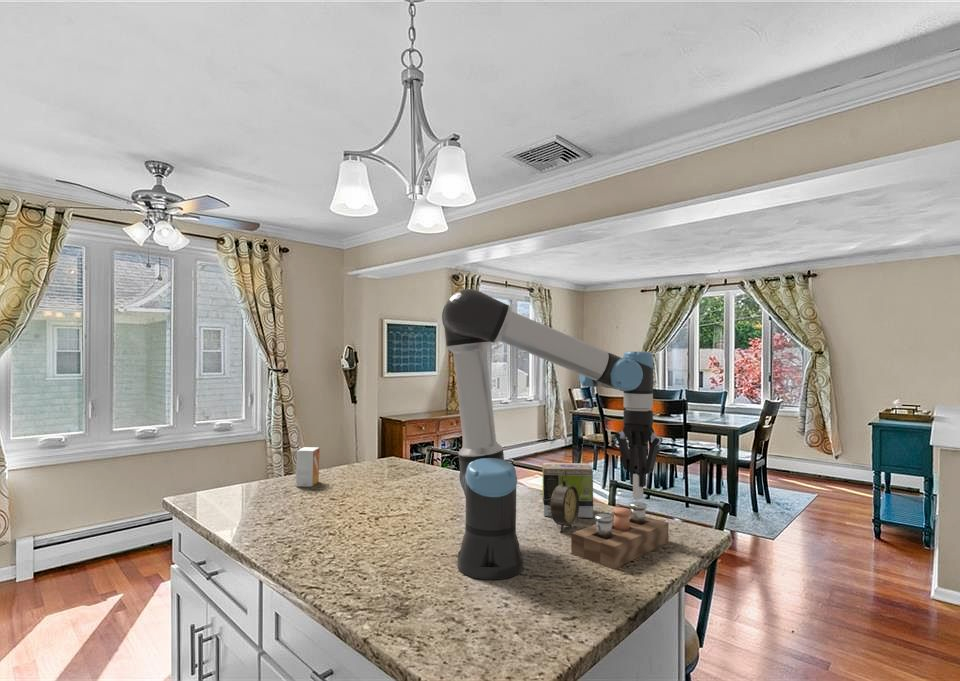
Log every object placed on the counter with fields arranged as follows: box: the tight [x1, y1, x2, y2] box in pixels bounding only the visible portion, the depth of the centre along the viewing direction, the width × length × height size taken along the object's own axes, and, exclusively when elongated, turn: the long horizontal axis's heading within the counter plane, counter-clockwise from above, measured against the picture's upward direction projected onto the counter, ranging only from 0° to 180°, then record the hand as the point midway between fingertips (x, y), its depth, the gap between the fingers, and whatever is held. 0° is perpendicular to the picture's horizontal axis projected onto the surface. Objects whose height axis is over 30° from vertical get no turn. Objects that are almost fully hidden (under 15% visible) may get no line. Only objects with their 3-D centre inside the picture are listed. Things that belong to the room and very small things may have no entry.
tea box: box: [542, 462, 594, 519], centre depth 158 cm, size 15×10×15 cm
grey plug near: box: [594, 513, 614, 540], centre depth 124 cm, size 4×4×5 cm
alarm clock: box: [550, 470, 579, 534], centre depth 144 cm, size 11×5×16 cm, turn 147°
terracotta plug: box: [612, 507, 631, 532], centre depth 130 cm, size 4×4×5 cm
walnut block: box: [570, 515, 669, 570], centre depth 130 cm, size 26×12×5 cm, turn 133°
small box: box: [295, 446, 321, 488], centre depth 189 cm, size 8×6×13 cm
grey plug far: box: [628, 501, 648, 525], centre depth 135 cm, size 4×4×5 cm
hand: (638, 498), depth 135 cm, fingers closed
